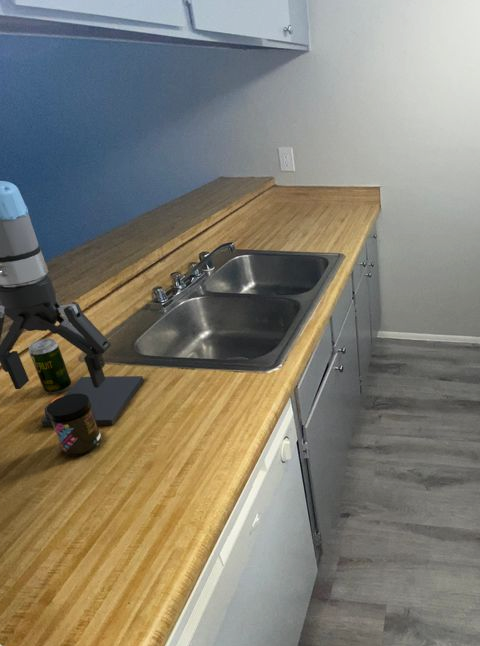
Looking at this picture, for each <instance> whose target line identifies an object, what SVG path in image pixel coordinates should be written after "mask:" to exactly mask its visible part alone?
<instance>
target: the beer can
mask: <svg viewBox="0 0 480 646" xmlns="http://www.w3.org/2000/svg"><path fill="white" fill-rule="evenodd" d="M28 349H29V350H28V354H29V356H30V359H31V361H32V364H33V366H34V368H35V371H36V373H37V374H36V375H37V376H38V379H39V381H40V383H41V386H42V389H43V391H45V393H47V394H49V395H57V394H58V395H59V394H61V393H63V392H65V391H67V390H69V389H70V388H71V387H72V386H71V385H72V380H71V376H70V374H69V371H68V367H67V366H66V363H65V360H64V358H63V354H62V351H61V349H60V346H59V343H57V341H56V339H54V338H43V339H38V340H36V341H33V342H31V343H30V344H29V345H28Z"/></svg>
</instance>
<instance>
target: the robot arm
mask: <svg viewBox="0 0 480 646" xmlns="http://www.w3.org/2000/svg"><path fill="white" fill-rule="evenodd" d="M48 273H49V268H48V266H47V262H46V261H45V258H44V255H43V252H42V250H41V247H40V244H39V242H38V239H37V235H36V233H35V230H34V226H33V224H32V220H31V217H30V214H29V208H28V206H27V205H26V203H25V201H24V199H23V197H22V194H21V192H20V189H19V188H18V187H17V185H15V184H14V183H12V182H11V181H10V182H9V181H5V180H0V340H1V339H2V334H3V328H4V323H5V316H6V317H7V318H9V319H10V320H11V321H12V323H11V325H10V327H9V328H8V331H7V333H6V335H5V336H4V338H3V339H2V341H1V342H0V365H1V366H0V367H2V370H3V371H4V373H8V375H9V377H10V380H11V382H12V384H13V387H14V389H15V390H21V389H22V388H23V387H24V386H25V385H26V384H27V383H28V382H29V381H30V379H29V376H28V373H27V372H26V369H25V368H24V364H23V361H22V360H21V357H20V355H19V352H18V350H13V349H14V346H15V344H16V343H17V341H18V340H19V339H20V337H21V335H22V334H23V332H24V331H25V330H26V332H33V331H41V332H47V331H48V332H51V333H52V334H53V335H54V334H55V335H59V336H60V337H61V338H62V339H64V340H66V342H69V343H70V344H71V345H73V346H74V347H75V348H77V349H78V350H79V351H81V352H83V353H84V354H86V355H85V356H84V357H83V359H84V362H85V366H86V368H87V371H88V374H89V377H91V380H92V383H93V386H94V388H99V386H100V385H101V384H102V383H103V381H104V380H105V377H106V375H105V373H104V371H103V369H104V367H105V365H106V363H105V359H104V357H103V354H104V353H106V351H107V350H108V349H109V348H110V347H111V345H112V344H111V342H110V341H109V340H108V339H107V338H106V336H104V334H103V333H102V332H101V331H100V330H99V329H98V328H97V327H96V326H95V325H94V323H93V322H92V321H91V320H90V319H89V318H88V317H87V316H86V315H85V314H84V313H83V310H82V309H81V306H80V304H79V303H78V302H77V301H72V302H70V303H69V304H63V305H61V304H60V303H59V302H58V301H57V297H56V296H57V294H56V290H55V286H54V284H53V281H52V278H51V276H50V275H48ZM57 323H59V324H58V325H56V324H57Z"/></svg>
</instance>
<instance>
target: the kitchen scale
mask: <svg viewBox="0 0 480 646" xmlns="http://www.w3.org/2000/svg"><path fill="white" fill-rule="evenodd" d="M143 382H144V376H143V375H127V376H126V375H125V376H124V375H121V376H119V375H117V376H116V375H115V376H113V375H112V376H105V380H104V381H103V383H102V384H101V385H100V386H99V388H94V386H93V383H92V380H91V377H90V376H81V377H80V378H79V379H78V380H77V381H76V382H75V383H74V384H73V385H72V386H71V387H70V388H69V389H68V391H67V392H66V393H65V395H63V396H66V395H69V394H77V393H79V394H85V395H87V396H88V398H89V401H90V403H91V407H92V410H93V413H94V416H95V419H96V422H97V425H98V426H113V425H115V422H116V421H117V420H118V418H119V417H120V415H122V412H123V411H124V409H126V407H127V405H128V404H129V403H130V401H131V399H132V398H133V397H134V395H135V394H136V392H137V391H138V390H139V388H140V386H141V385H142V384H143ZM50 404H51V402H50V403H48V404H47V405H46V406H45V407H44V415H45V416H44V418H42V420H41V421H40V422H41V425H42V427H53V424H52V422H51V420H50V418H49V415H48V413H47V407H48V406H49V405H50Z"/></svg>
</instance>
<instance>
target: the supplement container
mask: <svg viewBox="0 0 480 646" xmlns="http://www.w3.org/2000/svg"><path fill="white" fill-rule="evenodd" d="M62 396H63V397H61V396H59V397H60V398H58V397H57V398H58V399H56V400H55V401H53V402H52V401H51V402H52V403H51V402H50V403H51V404H50V403H49V404H50V405H49V406H48V407H47V406H46V407H47V413H48V415H49V418H50V420H51V422H52V424H53V426H52V427H53V429H54V432H55V435H56V437H57V439H58V442H59V444H60V447H61V449H62V452H63V453H64V454H66V455H68V456H72V457H77V456H84V455H86V454H89V453H90V452H93V451H94V450H96V449H97V448H98V446H99V445H100V444H101V442H102V434H101V431H100V428H99V425H97V422H96V419H95V416H94V413H93V410H92V407H91V403H90V401H89V398H88V396H87V395H85V394H79V393H77V394H69V395H66V396H64V395H62Z"/></svg>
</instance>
